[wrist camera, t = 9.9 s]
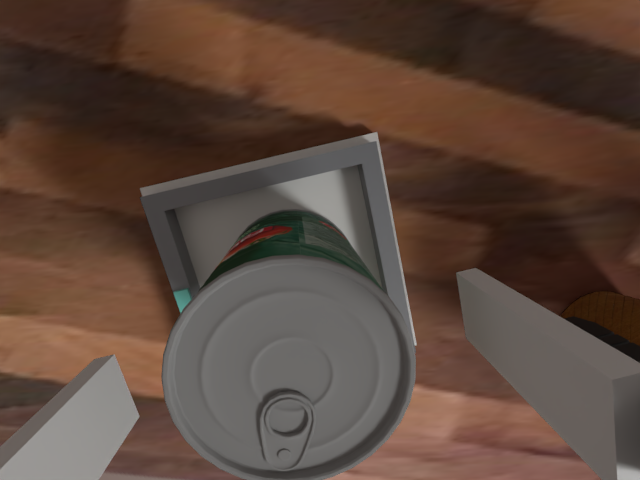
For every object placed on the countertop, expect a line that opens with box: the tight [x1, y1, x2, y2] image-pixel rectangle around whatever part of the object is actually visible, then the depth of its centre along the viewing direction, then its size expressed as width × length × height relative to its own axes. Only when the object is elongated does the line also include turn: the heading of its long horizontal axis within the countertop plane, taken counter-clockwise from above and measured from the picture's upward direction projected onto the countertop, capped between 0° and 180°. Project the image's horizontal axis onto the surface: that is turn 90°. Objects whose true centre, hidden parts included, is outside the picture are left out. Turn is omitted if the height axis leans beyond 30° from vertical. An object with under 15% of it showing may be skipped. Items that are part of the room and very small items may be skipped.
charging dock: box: [140, 132, 417, 352], centre depth 21 cm, size 14×14×2 cm
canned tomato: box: [162, 209, 416, 480], centre depth 16 cm, size 8×8×11 cm
